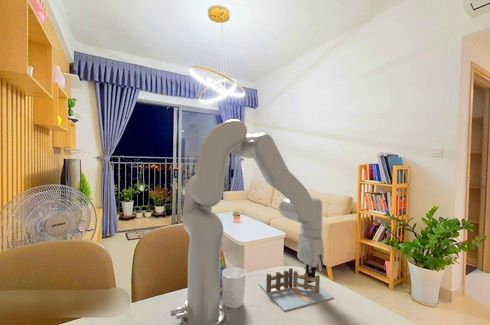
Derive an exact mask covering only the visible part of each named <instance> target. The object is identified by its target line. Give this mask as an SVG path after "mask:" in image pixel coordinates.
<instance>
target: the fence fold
mask: <svg viewBox="0 0 490 325" xmlns="http://www.w3.org/2000/svg"><path fill="white" fill-rule="evenodd" d="M293 270H294V269H293ZM320 277H321V276H320V275H317V274H315V277H310V276H308V273H306V272H304V273H303V274H299V273H298V270H294V271H293V287H297V286H298V287H303V288H304V289H305V290H308V289H311V290H315V292H317V293H319V287H320V284H321V283H320ZM297 278H299V279H304V283H300V282H297ZM308 281H313V283H314V284H315V286H313V285H309V284H308Z"/></svg>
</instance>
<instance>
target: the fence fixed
mask: <svg viewBox="0 0 490 325" xmlns="http://www.w3.org/2000/svg"><path fill="white" fill-rule="evenodd" d="M293 270H294V269H293V268H291V267H290V268H289V267H288V270H284V271H283V273H281V272H280V271H276V272H275V275H274V274H273V275H272V274H271V273H267V274H266V282H267V284H266V291H267V292H268V293H269V292H271V289H273V288H276V289H277V290H280V287H282V286H284V288H285V289H286V288H288V285H289V287H292V281H293V274H294V271H293ZM288 277H289V281H288ZM283 278H284V282H281V279H283ZM273 280H276V283H275V284H271V281H273Z"/></svg>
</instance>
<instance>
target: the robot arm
mask: <svg viewBox="0 0 490 325" xmlns="http://www.w3.org/2000/svg"><path fill="white" fill-rule="evenodd" d="M230 154H232V155H235V156H239V157H242V158H246V159H253V160H254V161H255V163H256V165H257V166H258V169H259V171H260V173H261V174H262V177H263V179H264V180H265V182H266V184H268V185H269V186H271V187H272V189H275V190H276V191H277V192H280V194H282V195H283V196H284V197H285V198H284V199H282V200H281V202H280V203H279V206H278V212H279V213H280V215H281V216H282V217H284V218H286V219H287V220H290V221H294V222H297V223H299V224H300V233H299V235H298V239H297V249H296V250H297V252H296V254H297V255H296V256H297V259H298V260H299V261H301V263H302V264H303V266H304V270H305V273H308V276H310V277H315V278H316V272H321V271H323V267H322V266H323V265H324V263H325V262H324V261H325V251H324V241H323V237H322V235H323V234H322V233H323V232H322V231H323V229H322V228H323V227H322V226H323V202H322V200H321V199H320V198H316V197H311V194H310V192H309V191H308V189H307V188H306V187H305V185H303V183H302V182H300V180H299V179H298V178H297V177H296V176H295V175H294V174H293V173H292V172H291V171H290V169H288V167H287V164H286V162H285V161H284V158H283V156H282V155H281V153H280V151H279V148H278V146H277V145H276V142H275V140H274V138H273V137H272V136H271V135H269V134H268V133H266V132H260V133H259V132H258V133H254V134H253V133H252V134H249V133H248V128H247V126H246V124H245V122H243V121H242V120H239V119H229V120H226V121H224V122H222V123H219V124H217V125H215V126H214V127H213V128H212V129H211V130H210V132H209V133H208V134H207V135H206V136H205V138H204V139H203V141H202V143H201V145H200V147H199V151H198V156H197V162H196V168H195V174H194V175H192V176H191V177H190V178H189V179H188V181H187V183H186V184H185V185H186V186H185V191H184V199H183V209H182V226H183V229H184V230H185V232H186V233H187V234H188V235H189V245H188V253H187V296H186V297H187V300H184V304H181V306H179V307H173V308H170V317H174V316H175V320H181V322H182V323H181V324H182V325H221V324H222V323H223V322H224V320H225V316H226V313H225V309H224V308H223V306H222V305H220V303H221V302H220V301H221V293H220V258H221V256H222V255H221V251H222V247H221V245H222V246H223V238H224V226H223V222H222V220H221V218H220V217H219V216H218V215H217V214H216V213H214V212H213V211H212V208H213V207H215V206H217V205H218V204H219V203H220V202H221V201H222V199H223V195H224V184H225V174H226V167H227V160H228V157H229V156H230ZM312 282H313V281H308V283H312ZM313 283H314V282H313Z"/></svg>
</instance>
